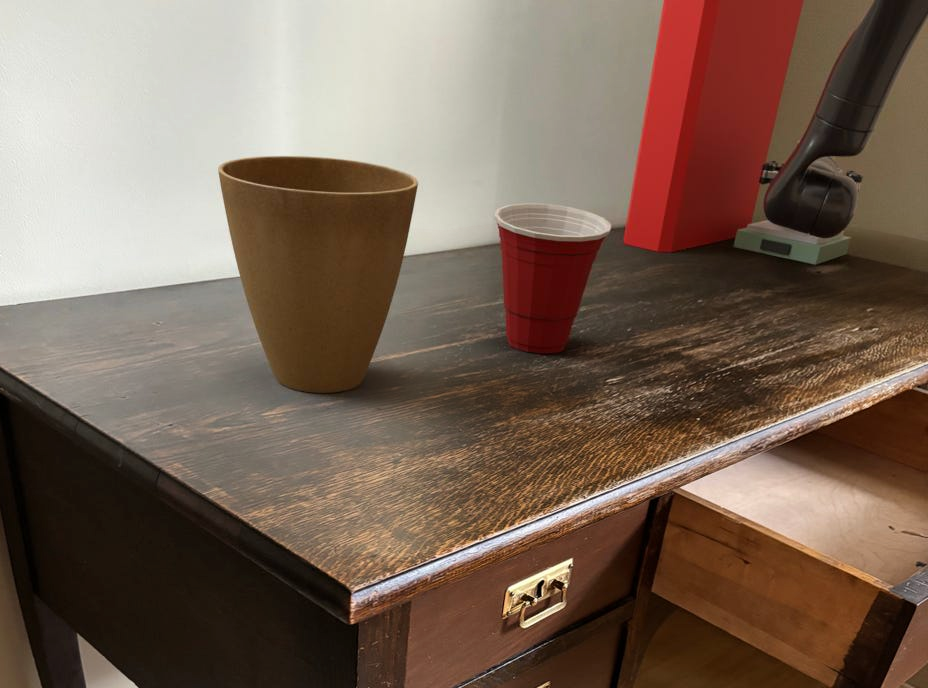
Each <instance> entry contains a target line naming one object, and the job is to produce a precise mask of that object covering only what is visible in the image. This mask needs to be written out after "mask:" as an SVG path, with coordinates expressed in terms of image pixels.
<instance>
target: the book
mask: <svg viewBox="0 0 928 688" xmlns="http://www.w3.org/2000/svg"><path fill="white" fill-rule="evenodd" d="M804 1H805V0H663V1H662V2H663V3H662V8H661V15H660V21H659V25H658V32H657V39H656V45H655V49H654V55H653V62H652V68H651V74H650V79H649V86H648V92H647V98H646V104H645V108H644V109H645V110H644V115H643V122H642V126H641V127H642V128H641V134H640V140H639V145H638V151H637V157H636V162H635V167H634V168H635V170H634V175H633V181H632V187H631V192H630V197H629V198H630V199H629V200H630V201H629V204H628V210H627V216H626V223H625V229H624V234H623V241H622V242H623V244H624V245H628V246H632V247H636V248H640V249H645V250H648V251H649V250H650V251H653V252H659V253H674V252H678V250H679V251H683V250H687V248H688V249H691V248H696V247H701V246H705V245H710V244H714V243H718V242H722V241H723V242H724V241H727V240H731V239H735V238H736V233H737V230H739V229H743V228H747V225H748V224H752V223H753V217H754V215H755V209H756V206H757V205H756V204H757V200H758V196H759V192H760V187H761V185H762V184H761V183H759V179H760V175H761V171H762V167H763V164H764V163H767V162H766V161H767V159H768V154H769V149H770V146H771V141H772V137H773V132H774V128H775V124H776V120H777V115H778V111H779V106H780V102H781V99H782V95H783V90H784V85H785V80H786V78H787V73H788V68H789V65H790V60H791V55H792V52H793V48H794V43H795V39H796V34H797V30H798V26H799V23H800V17H801V14H802V9H803V5H804Z"/></svg>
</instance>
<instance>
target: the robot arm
mask: <svg viewBox="0 0 928 688" xmlns="http://www.w3.org/2000/svg"><path fill="white" fill-rule="evenodd" d="M927 21H928V0H872V2H871V3H870V5H869V7H868V9H867V10H866V12H865V14H864V15H863V16H862V18H861V20H860V21H859V22H858V24H857V25H856V26H855V29H854V30H853V32H852V33H851V34H850V36H849V37H848V39H847V40H846V42H845V44H844V45H843V47H842V49H841V51H840V52H839V54H838V56H837V57H836V60H835V61H834V63H833V66H832V68H831V70H830V73H829V74H828V77H827V79H826V82H825V84H824V87H823V90H822V92H821V95H820V97H819V100H818V102H817V104H816V107H815V110H814V112H813V114H812V117H811V119H810V121H809V123H808V125H807V127H806V130H805V131H804V134H803V135H802V137H801V139H800V140H799V141H800V142H799V143H798V145H797V144H796V146H797V147H795V148H794V150H792V153H791V154H790V156H788V157H787V160H785V162H781V165H779V162H777V161H776V160H772V161H771V160H770V161H767V162H766V163H764V164H763V167H762V171H761V175H760V179H759V183H761V184H760V185H762V186H763V185H768V184H769V185H768V187H767V188H766V191H765V194H764V197H763V206H762V207H763V213H764V215H765V218H766V219H767V220H769V221H770V222H771V223H773V224H776V225H779V226H782V227H785V228H789V229H792V230H795V231H799V232H802V233H805V234H809V235H812V236H815V237H819V238H832V237H834V236H836V235H838V234H840V233H841V232H842V231H844V230H845V229H846V228H847V227H848V226H849V224H850V223H851V221H852V220H853V218H854V216H855V213H856V211H857V207H858V202H859V191H860V188H861V185H862V181H863V178H864V176H863V175H861V174H859V173H857V172H856V171H854V170H847V171H846V174H845V173H843V169H841V168H839V167H838V164H837V163H836V161H835V162H834V160H833V159H832V158H831V157H830V156H835V157H836V158H837V157H838V158H839V157H840V158H847V157H856V156H859V155H860V154H861V153H863V152H864V150H865V149H866V148H867V147H868V145H869V143H870V141H871V139H872V137H873V134H874V131H875V129H876V127H877V125H878V123H879V120H880V117H881V116H882V114H883V111H884V109H885V107H886V105H887V103H888V100H889V98H890V96H891V94H892V92H893V89H894V87H895V84H896V83H897V80H898V78H899V76H900V74H901V71H902V69H903V67H904V65H905V63H906V61H907V59H908V57H909V56H910V53H911V51H912V49H913V47H914V45H915V44H916V41H917V39H918V37H919V35H920V34H921V32H922V30H923V28H924V26H925V24H926V22H927Z"/></svg>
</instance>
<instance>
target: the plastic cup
mask: <svg viewBox="0 0 928 688" xmlns="http://www.w3.org/2000/svg"><path fill="white" fill-rule="evenodd" d="M493 218H494V221H495V222H496V225H497V229H498V236H499V239H500V250H501V264H502V265H501V266H502V285H503V286H502V288H503V307H504V309H505V312H504V313H505V335H506V337H507V339H506V340H507V344H508V345H509V346H510V347H512V348H514V349H516V350H520V351H522V352H527V353H534V354H557V353H560V352H562V351H564V350H565V348H566V345H567V343H568V341H569V338H570V335H571V331H572V328H573V325H574V321H575V318H576V317H577V315H578V312H579V309H580V305H581V302H582V299H583V296H584V293H585V290H586V286H587V283H588V280H589V276H590V273H591V271H592V268H593V264H594V262H595V260H596V258H597V255H598V251H600V248H601V246H602V243H603V242H604V240H605V239H606V237H607V236H609V235H610V231H611V228H612V223H611V222H609V221H608V220H607V219H606V218H605V217H603V216H600V215H598V214H596V213H593V212H591V211H587V210H583V209H579V208H576V207H571V206H565V205H558V204H550V203H528V202H526V203H525V202H524V203H516V204H515V203H514V204H507V205H505V206H502V207H498V208H496V210H495V212H494V214H493Z"/></svg>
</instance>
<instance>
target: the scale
mask: <svg viewBox="0 0 928 688" xmlns="http://www.w3.org/2000/svg"><path fill="white" fill-rule="evenodd" d="M844 233H845V231H844V230H843V231H842V232H841V233H840V234H838V235H836V236H834V237H832V238H819V237H815V236H812V235H809V234H805V233H802V232H799V231H795V230H792V229H789V228H785V227H782V226H779V225H776V224H773V223H771V222H770V221H769V220H768V219H767V220H762V221H757V222H752V223H751V224H748V225H747V228H743V229H739V230H737V233H736V238H734V243H733V246H732V247H733V248H736V249H740V250H745V251H750V252H754V253H758V254H764V255H768V256H772V257H777V258H781V259H787V260H793V261H796V262H801V263H805V264H810V265H814V266H815V265H819V264H822V263H825V262H828V261H831V260H834V259H837V258H839V257H843V256H846V255H847V253H848V250H849V246H850V243H851V239H852V237H851V236H846V235H844Z"/></svg>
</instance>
